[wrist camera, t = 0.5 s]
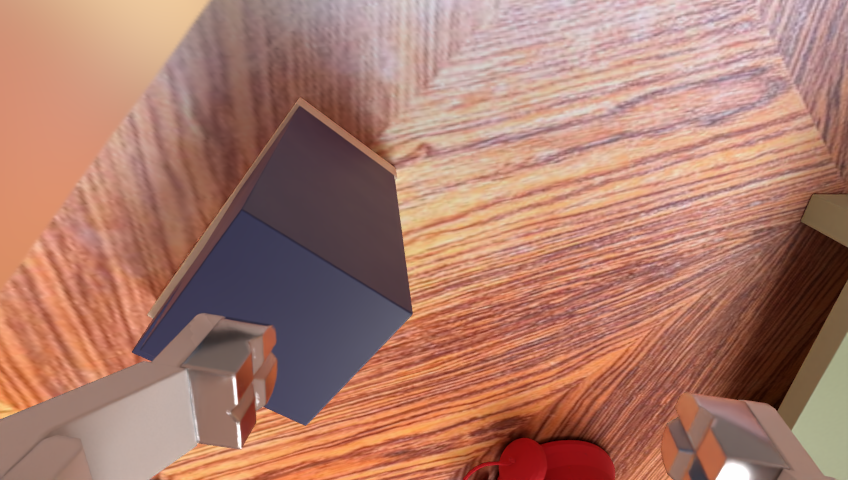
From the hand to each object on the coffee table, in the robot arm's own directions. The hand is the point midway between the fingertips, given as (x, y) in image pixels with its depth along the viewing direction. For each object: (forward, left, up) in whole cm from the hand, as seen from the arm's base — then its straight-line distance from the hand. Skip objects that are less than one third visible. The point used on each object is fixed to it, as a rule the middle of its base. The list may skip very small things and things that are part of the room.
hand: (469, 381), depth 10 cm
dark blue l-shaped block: (+6, -9, -19) cm, 22 cm away
